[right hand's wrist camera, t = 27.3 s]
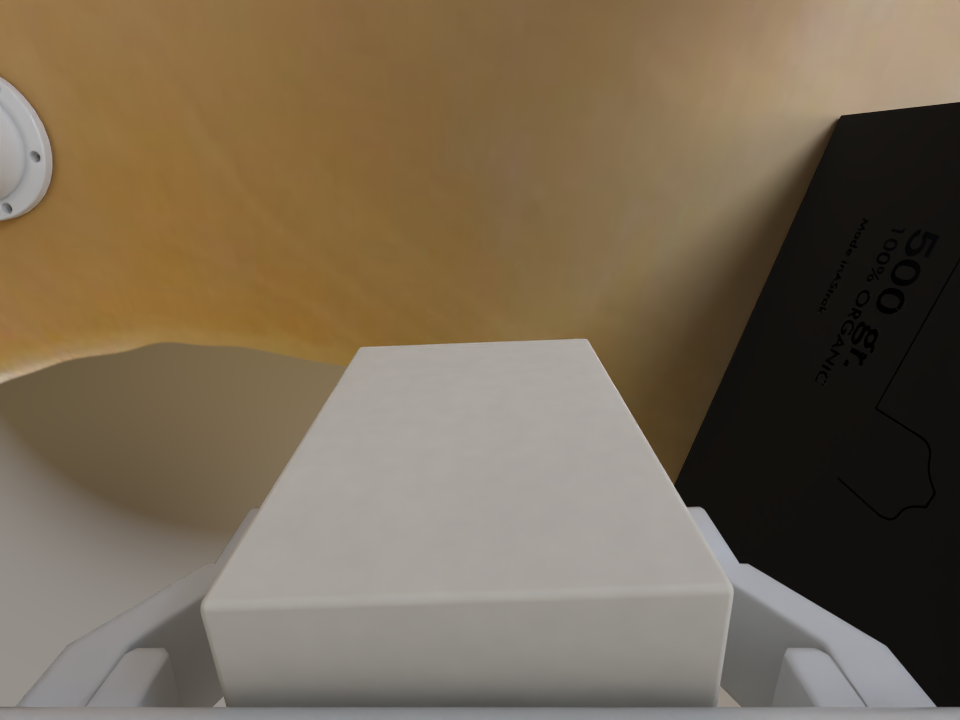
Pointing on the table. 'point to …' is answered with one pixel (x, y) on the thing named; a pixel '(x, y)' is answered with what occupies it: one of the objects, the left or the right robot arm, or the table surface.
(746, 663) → the right robot arm
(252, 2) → the table surface
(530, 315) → the table surface
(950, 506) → the cardboard box
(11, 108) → the left robot arm
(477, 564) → the brick
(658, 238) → the table surface
